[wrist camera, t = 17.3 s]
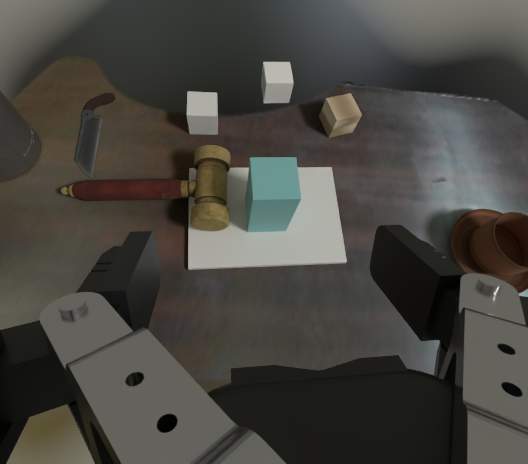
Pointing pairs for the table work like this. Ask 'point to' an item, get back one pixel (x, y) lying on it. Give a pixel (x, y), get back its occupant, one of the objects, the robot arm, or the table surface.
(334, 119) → the birch cube right
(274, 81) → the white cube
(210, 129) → the grey cube left
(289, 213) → the teal block
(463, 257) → the cup and saucer
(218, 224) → the gavel
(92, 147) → the knife
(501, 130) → the table surface
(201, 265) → the white mat
